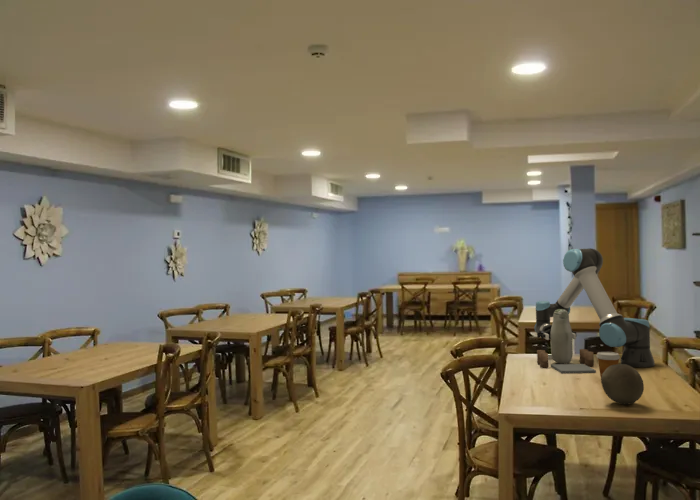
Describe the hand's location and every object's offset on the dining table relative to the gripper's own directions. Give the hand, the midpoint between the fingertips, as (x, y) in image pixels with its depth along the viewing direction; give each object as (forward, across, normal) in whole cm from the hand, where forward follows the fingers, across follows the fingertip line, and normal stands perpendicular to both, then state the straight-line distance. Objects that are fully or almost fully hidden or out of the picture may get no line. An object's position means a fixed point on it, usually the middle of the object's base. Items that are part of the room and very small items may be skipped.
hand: (561, 336), depth 292 cm
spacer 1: (-1, +10, -14) cm, 17 cm away
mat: (+14, 0, -14) cm, 20 cm away
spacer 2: (+7, +11, -14) cm, 19 cm away
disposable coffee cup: (+38, -8, -14) cm, 41 cm away
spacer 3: (-1, -11, -14) cm, 18 cm away
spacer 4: (+6, -11, -14) cm, 19 cm away
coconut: (+78, +4, -14) cm, 79 cm away
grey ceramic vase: (-1, 0, -14) cm, 14 cm away
